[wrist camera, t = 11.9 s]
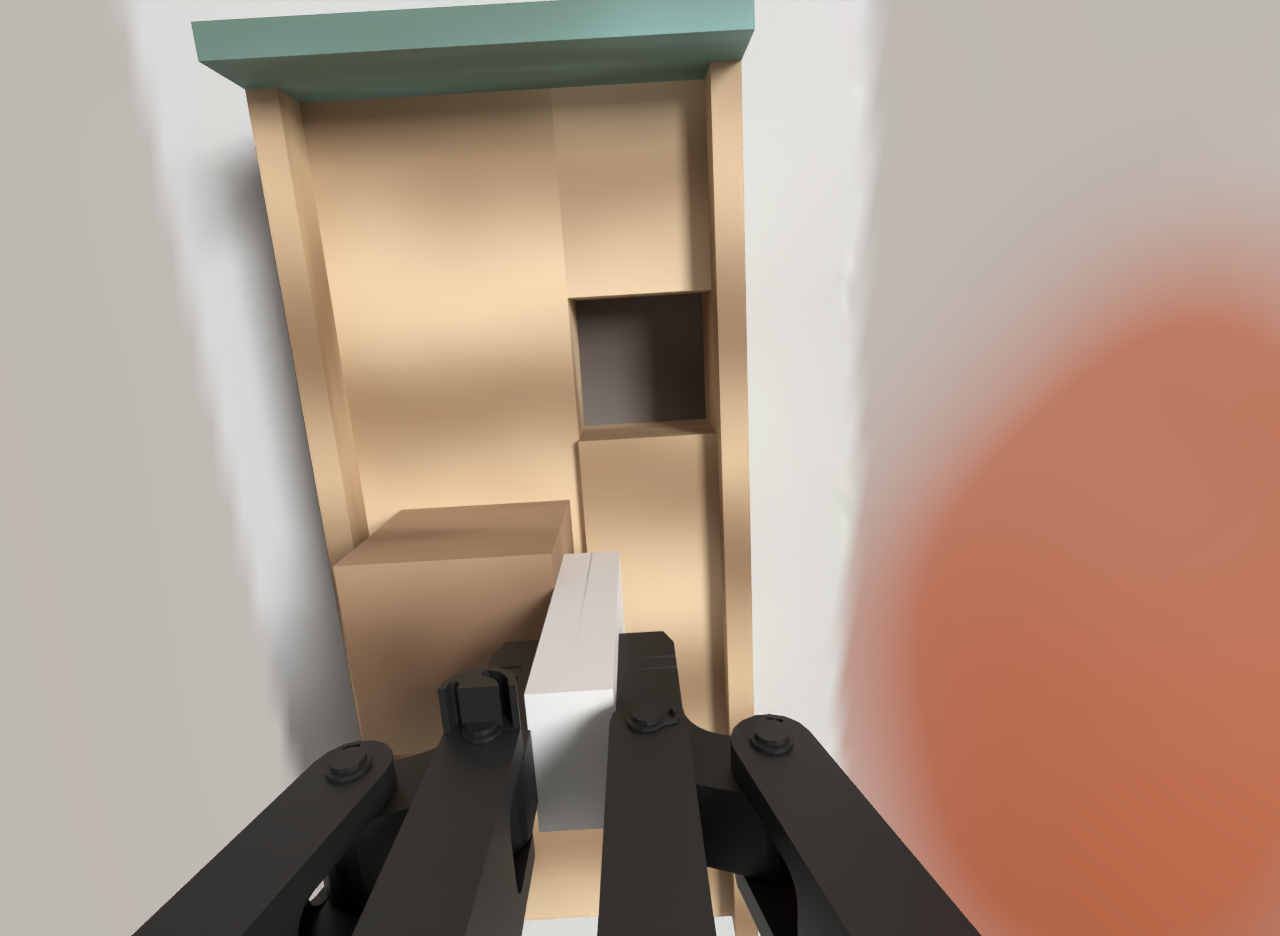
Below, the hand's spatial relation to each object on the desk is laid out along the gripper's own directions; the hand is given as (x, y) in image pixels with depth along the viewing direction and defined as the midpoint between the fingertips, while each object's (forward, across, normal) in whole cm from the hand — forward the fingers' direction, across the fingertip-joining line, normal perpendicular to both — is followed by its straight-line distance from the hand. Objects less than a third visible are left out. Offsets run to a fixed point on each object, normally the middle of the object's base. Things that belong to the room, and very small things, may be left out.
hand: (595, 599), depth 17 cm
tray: (+5, +2, 0) cm, 5 cm away
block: (+2, +3, 0) cm, 4 cm away
